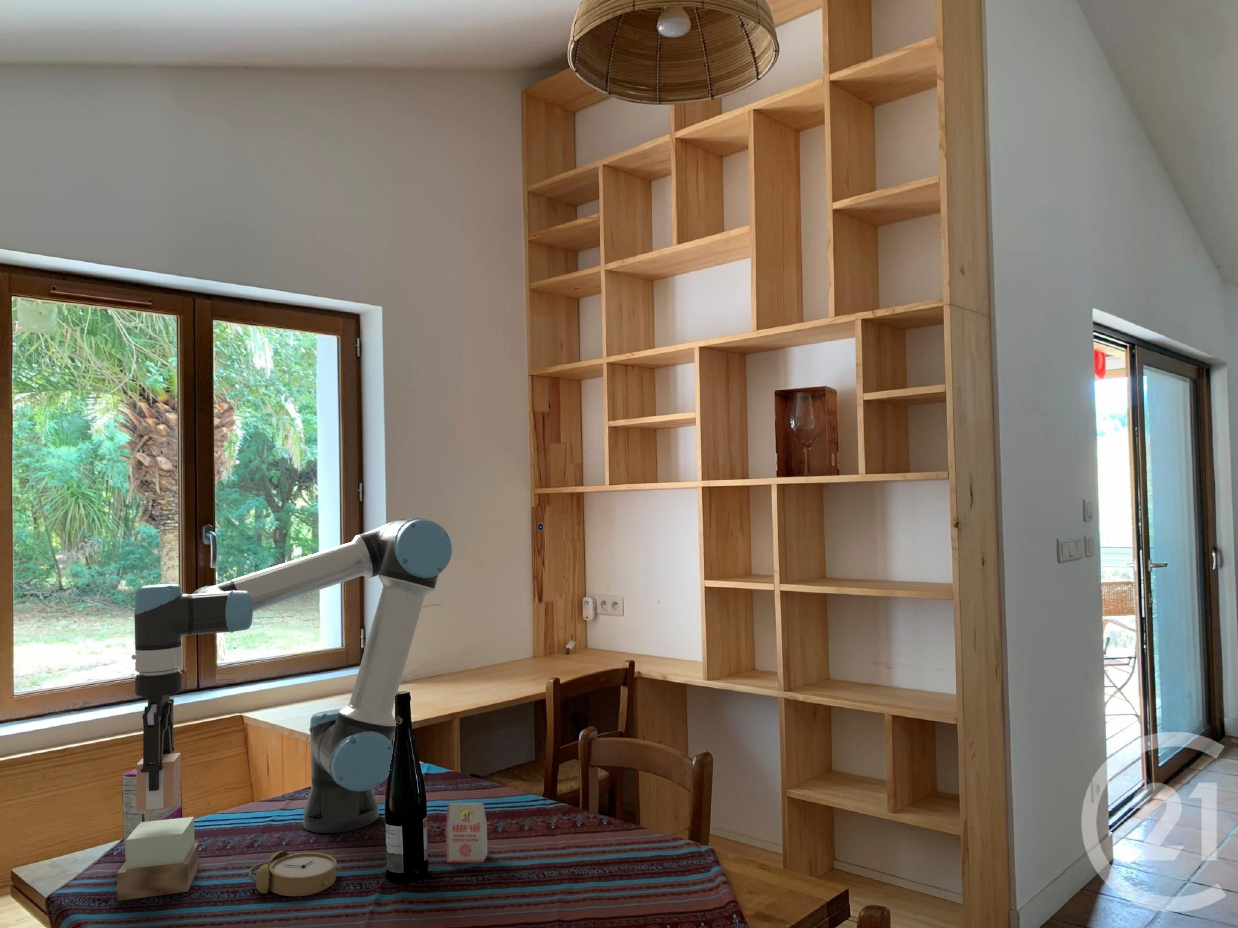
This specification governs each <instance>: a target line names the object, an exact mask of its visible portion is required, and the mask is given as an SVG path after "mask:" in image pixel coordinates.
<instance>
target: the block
mask: <svg viewBox="0 0 1238 928" xmlns="http://www.w3.org/2000/svg"><path fill="white" fill-rule="evenodd" d="M172 753H173V754H163V760H162V766H163V768H162V769H164V808H159V809H165V808H174V807H175V805H176V804H177V802H178V801H179V799H180V798H181V788H182V767H181V766H182V765H181V764H182V761H181V760H182V754H181V752H172ZM135 769H136V811H145V810H146V772H145V773H141V769H143V757H142V758H141V759H140V760H139V761H138V762H137V764H136V768H135ZM149 810H155V809H149Z"/></svg>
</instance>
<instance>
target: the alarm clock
mask: <svg viewBox="0 0 1238 928" xmlns="http://www.w3.org/2000/svg"><path fill="white" fill-rule="evenodd" d="M342 868H343V866H342V865H338V864H337V860H336V858H335V857H334V856H332V855H330V854H326V853H321V852H314V851H313V852H310V851H309V852H308V851H307V852H305V851H304V852H299V853H292V854H289V853H288V852H287V851H283V850H280V851H277V852H275V853H273V854H272V855H271V856H270V857H269V859H268V861H265V862H260V863H258V864H255V865H253V866H251V867H249V869H248V875H247V876H248V879H249V880H250V881H251V882H252V883H254V885H255V887H256V889H257V891H258V892H259V893H260V894H263V895H264V894H265V895H266V894H268V891H269V890H270V891H271V892H272V893H273V894H277V895H280V896H287V897H303V896H310V895H313V894H315V893H319V892H322V891H324V890H326V889H328V888H329V887H331V886H332V885H334V883H335V881H336V879H337V877H336V876H337V870H340V869H342ZM256 871H257V872H256ZM254 872H256V875H254V874H253V873H254Z"/></svg>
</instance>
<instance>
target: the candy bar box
mask: <svg viewBox="0 0 1238 928" xmlns="http://www.w3.org/2000/svg"><path fill="white" fill-rule="evenodd" d="M121 791H122V817H123V819H122V820H123V821H122V825H123V849H124V850H123V851H124V852H123V853H124V856H123V857H124V861H126V839H127V838H128V837H129V836H130V834H131V833H132V832H133V831H134V830H135V828H136V827H137V826H138V825H139V824H140V823H141V822H148V821H158V820H167V819H177V818H183V798H182V797H183V795H182V794H183V792H182V791H183V789H182V787H181V798H180V799H179V801H178V802H177V804H176V805H175V807H174V808H165V809H155V810H145V811H136V768H134V769H132V770H130V771H127V772H125V773H123V774H121Z"/></svg>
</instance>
